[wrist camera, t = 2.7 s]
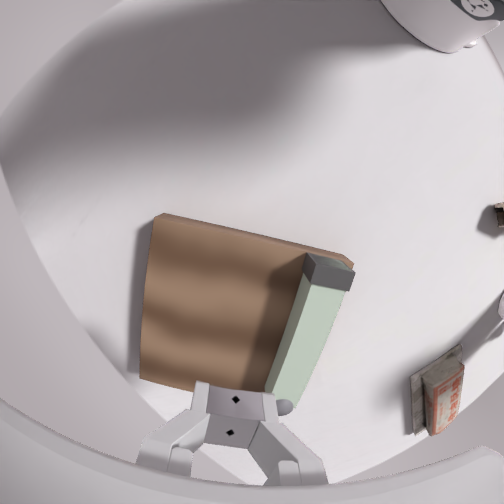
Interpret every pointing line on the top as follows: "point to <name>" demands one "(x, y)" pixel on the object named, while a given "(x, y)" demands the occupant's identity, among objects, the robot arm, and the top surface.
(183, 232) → the stool seat
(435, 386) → the packaged product
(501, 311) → the fire extinguisher
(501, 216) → the bone fragment
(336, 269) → the hinged leg
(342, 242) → the top surface
